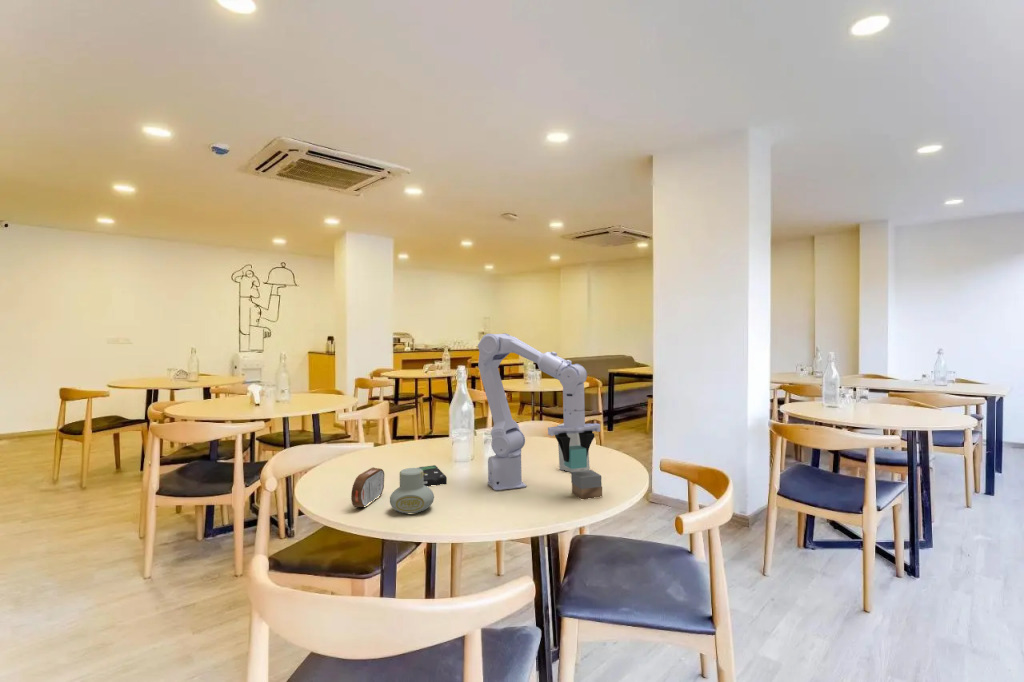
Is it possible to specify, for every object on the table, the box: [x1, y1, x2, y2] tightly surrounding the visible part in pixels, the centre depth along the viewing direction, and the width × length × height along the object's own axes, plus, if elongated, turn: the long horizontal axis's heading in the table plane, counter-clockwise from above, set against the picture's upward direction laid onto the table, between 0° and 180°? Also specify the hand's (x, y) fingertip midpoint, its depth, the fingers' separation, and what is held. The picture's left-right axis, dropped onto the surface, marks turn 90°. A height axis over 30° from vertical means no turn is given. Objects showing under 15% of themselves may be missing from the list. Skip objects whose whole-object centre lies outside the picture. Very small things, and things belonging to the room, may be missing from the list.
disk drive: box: [418, 464, 448, 487], centre depth 154 cm, size 10×3×15 cm
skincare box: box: [557, 422, 591, 473], centre depth 161 cm, size 8×6×15 cm
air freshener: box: [389, 467, 435, 514], centre depth 127 cm, size 11×8×10 cm
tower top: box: [570, 469, 602, 489], centre depth 137 cm, size 6×6×3 cm
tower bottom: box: [571, 483, 603, 500], centre depth 137 cm, size 6×6×3 cm
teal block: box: [564, 445, 587, 469], centre depth 136 cm, size 4×4×5 cm
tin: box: [350, 467, 385, 508], centre depth 134 cm, size 15×3×8 cm, turn 170°
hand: (575, 460), depth 136 cm, fingers closed on teal block, 4 cm apart
